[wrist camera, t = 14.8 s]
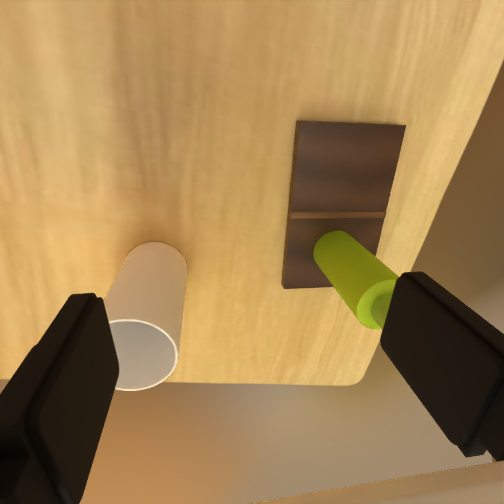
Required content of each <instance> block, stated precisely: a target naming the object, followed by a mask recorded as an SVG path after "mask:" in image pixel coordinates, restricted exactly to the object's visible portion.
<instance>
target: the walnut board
mask: <svg viewBox="0 0 504 504" xmlns="http://www.w3.org/2000/svg"><path fill="white" fill-rule="evenodd" d="M405 128H406V125H390V124H364V123H339V122H313V121H296V132H295V143H294V154H293V164H292V175H291V186H290V197H289V208H288V219H287V229H286V240H285V251H284V262H283V273H282V286H283V288H284V289H296V288H319V287H334V286H333V285H332V284H331V282H330V281H329V279H328V278H327V277H326V275H325V274H324V273H323V271H322V270H321V269H320V267H319V266H318V265H317V263H316V262H315V260H314V255H313V252H314V247H315V245H316V243H317V241H318V240H319V239H320V238H321V237H322V236H323V235H325V234H326V233H329V232H331V231H344V232H346V233H348V234H349V235H350V236H352V237H353V238H354V239H355V240H356V241H357V242H359V243H360V244H361V245H362V246H363V247H364V248H366V249H367V250H368V251H369V252H370V253H371V254H373V255H374V256H376V252H377V248H378V243H379V239H380V235H381V230H382V226H383V222H384V218H385V215H386V209H387V205H388V201H389V196H390V192H391V188H392V184H393V179H394V175H395V171H396V167H397V162H398V158H399V154H400V149H401V145H402V141H403V137H404V132H405Z"/></svg>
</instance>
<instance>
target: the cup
mask: <svg viewBox="0 0 504 504" xmlns="http://www.w3.org/2000/svg"><path fill="white" fill-rule="evenodd" d="M186 281H187V264H186V261H185V259H184V257H183V256H182V254H181V253H180V252H179V251H178V250H177V249H175V248H174V247H172V246H170V245H168V244H165V243H161V242H147V243H143V244H141V245H138V246H137V247H135V248H134V249H132V250H131V251H130V253H129V254H128V255H127V257H126V259H125V261H124V263H123V264H122V266H121V268H120V270H119V272H118V274H117V276H116V278H115V279H114V281H113V283H112V285H111V287H110V289H109V291H108V293H107V294H106V296H105V298H104V300H103V301H104V305H105V309H106V313H107V317H108V321H109V325H110V329H111V333H112V337H113V341H114V345H115V349H116V353H117V357H118V361H119V377H118V380H117V383H116V387H115V389H117V390H125V391H135V390H142V389H147V388H150V387H152V386H155V385H157V384H159V383H161V382H162V381H164V380H165V379H167V378H168V377H169V376H170V375H171V373H172V372H173V371H174V369H175V367H176V364H177V361H178V356H179V347H180V338H181V328H182V319H183V309H184V300H185V290H186Z"/></svg>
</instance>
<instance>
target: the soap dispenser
mask: <svg viewBox="0 0 504 504" xmlns="http://www.w3.org/2000/svg"><path fill="white" fill-rule="evenodd" d="M313 255H314V260H315V262H316V263H317V265H318V266H319V267H320V269H321V270H322V271H323V273H324V274H325V275H326V277H327V278H328V279H329V281H330V282H331V284H332V285H333V286H334V288H335V289H336V290H337V292H338V293H339V294H340V296H341V297H342V299H343V300H344V301H345V303H346V304H347V305H348V307H349V308H350V309H351V311H352V312H353V313H354V315H355V316H356V318H357V319H358V320H359V322H360V323H361V324H362V325H364V326H365V327H367V328H370V329H382V330H383V327H384V323H385V319H386V316H387V312H388V309H389V305H390V301H391V298H392V294H393V290H394V287H395V283H396V280H397V279H398V278H399V277H398V276H397V275H396V274H395V273H394V272H393V271H391V270H390V269H389V268H388V267H387V266H386V265H384V264H383V263H382V262H381V261H380V260H379V259H377V258H376V257H375V256H374V255H373V254H371V253H370V252H369V251H368V250H367V249H366V248H364V247H363V246H362V245H361V244H360V243H359V242H357V241H356V240H355V239H354V238H353V237H352V236H350V235H349V234H348V233H346V232H344V231H331V232H329V233H326V234H325V235H323V236H322V237H321V238H320V239H319V240H318V241H317V243H316V245H315V247H314V252H313Z"/></svg>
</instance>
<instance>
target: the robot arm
mask: <svg viewBox="0 0 504 504" xmlns="http://www.w3.org/2000/svg"><path fill="white" fill-rule="evenodd" d="M380 342H381V346H382V349H383V350H384V351H385V353H386V354H387V356H388V357H389V358H390V360H391V361H392V362H393V364H394V365H395V367H396V368H397V369H398V371H399V372H400V373H401V375H402V376H403V378H404V379H405V380H406V382H407V383H408V385H409V386H410V387H411V389H412V390H413V391H414V393H415V394H416V395H417V397H418V398H419V400H420V401H421V402H422V404H423V405H424V406H425V408H426V409H427V411H428V412H429V413H430V415H431V416H432V417H433V419H434V420H435V422H436V423H437V424H438V426H439V427H440V428H441V430H442V431H443V432H444V434H445V435H446V437H447V438H448V439H449V440H450V442H452V443H453V444H455V445H457V446H458V448H459V449H460V450H461V452H462V453H463V454H464V456H465V457H472V456H478V455H483V454H484V453H485V451H486V450H488V452H489V453H490V454H491V455H492V457H493V458H492V459H493V463H487V464H481V465H475V466H468V467H463V468H457V469H450V470H444V471H438V472H432V473H426V474H420V475H414V476H408V477H402V478H396V479H390V480H385V481H378V482H373V483H367V484H360V485H355V486H349V487H344V488H337V489H331V490H325V491H319V492H313V493H308V494H302V495H296V496H290V497H284V498H279V499H273V500H267V501H261V502H256V503H251V504H504V334H503V333H501V332H500V331H499V330H498V329H496V328H495V327H494V326H493V325H491V324H490V323H488V322H487V321H486V320H485V319H483V318H482V317H481V316H480V315H478V314H477V313H476V312H474V311H473V310H472V309H471V308H469V307H468V306H467V305H465V304H464V303H463V302H461V301H460V300H459V299H458V298H456V297H455V296H454V295H452V294H451V293H450V292H448V291H447V290H446V289H445V288H443V287H442V286H441V285H439V284H438V283H437V282H435V281H434V280H433V279H432V278H430V277H429V276H428V275H426V274H425V273H423V272H405V273H403V274H402V275H401V276H400V277H399V278H398V279H397V280H396V283H395V287H394V290H393V294H392V298H391V301H390V305H389V309H388V312H387V316H386V319H385V323H384V327H383V330H382V334H381V338H380ZM118 377H119V361H118V357H117V353H116V349H115V345H114V341H113V337H112V333H111V329H110V325H109V321H108V317H107V313H106V309H105V305H104V301H103V299H102V298H101V297H98V298H97V297H96V295H95V294H94V293H84V294H72V295H71V296H70V297H69V298H68V300H67V301H66V303H65V304H64V305H63V307H62V308H61V310H60V311H59V313H58V314H57V316H56V317H55V319H54V320H53V322H52V323H51V325H50V326H49V328H48V329H47V331H46V332H45V334H44V335H43V337H42V338H41V340H40V341H39V343H38V344H37V345H35V346H34V347H33V348H32V349H31V350H30V352H29V353H28V355H27V356H26V357H25V359H24V360H23V362H22V363H21V365H20V366H19V368H18V369H17V371H16V372H15V374H14V375H13V376H12V378H11V379H10V381H9V382H8V384H7V385H6V387H5V388H4V390H3V391H2V393H1V394H0V504H79V503H80V501H81V499H82V496H83V493H84V490H85V486H86V483H87V480H88V476H89V473H90V470H91V467H92V463H93V460H94V456H95V453H96V450H97V447H98V443H99V440H100V437H101V433H102V430H103V427H104V423H105V420H106V417H107V413H108V410H109V407H110V403H111V400H112V397H113V393H114V390H115V387H116V383H117V380H118Z"/></svg>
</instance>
